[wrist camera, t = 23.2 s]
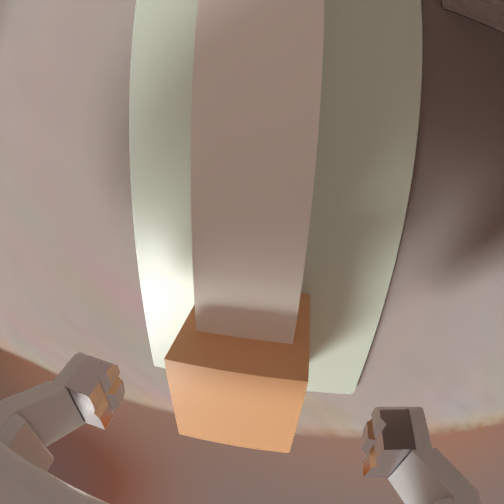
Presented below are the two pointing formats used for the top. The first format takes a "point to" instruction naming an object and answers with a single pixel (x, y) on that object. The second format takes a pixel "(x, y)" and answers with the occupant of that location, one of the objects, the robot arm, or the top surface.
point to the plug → (249, 222)
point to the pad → (325, 182)
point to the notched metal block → (479, 11)
